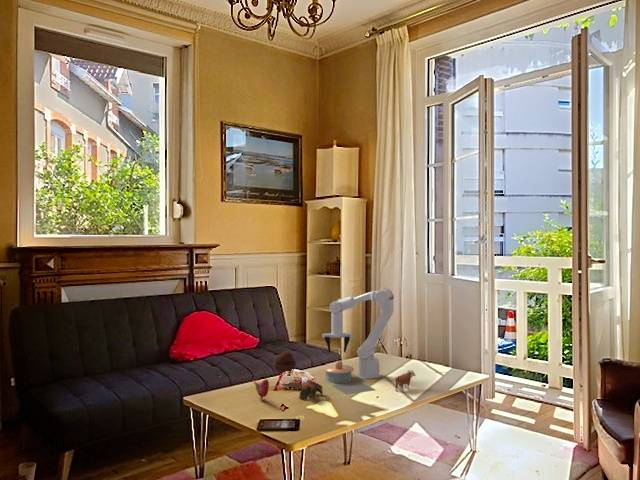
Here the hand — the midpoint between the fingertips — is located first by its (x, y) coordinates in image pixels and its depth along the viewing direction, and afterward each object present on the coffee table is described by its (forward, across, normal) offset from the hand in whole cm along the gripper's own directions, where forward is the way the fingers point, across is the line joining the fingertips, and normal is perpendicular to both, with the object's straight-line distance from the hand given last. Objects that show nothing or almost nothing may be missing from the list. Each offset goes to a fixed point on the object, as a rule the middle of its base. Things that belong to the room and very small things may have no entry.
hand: (337, 352), depth 275 cm
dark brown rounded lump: (+11, -26, -16) cm, 32 cm away
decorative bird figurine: (+11, -36, -40) cm, 55 cm away
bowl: (+10, -1, -13) cm, 17 cm away
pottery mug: (+11, -15, -40) cm, 44 cm away
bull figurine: (+11, +27, -30) cm, 42 cm away
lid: (+6, 0, -13) cm, 15 cm away
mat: (+10, +5, -27) cm, 29 cm away
